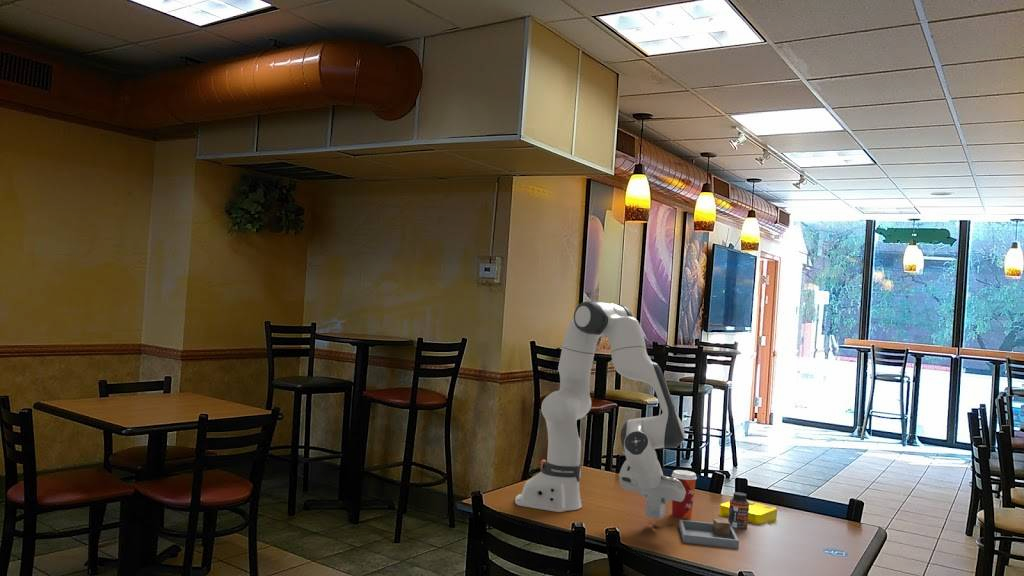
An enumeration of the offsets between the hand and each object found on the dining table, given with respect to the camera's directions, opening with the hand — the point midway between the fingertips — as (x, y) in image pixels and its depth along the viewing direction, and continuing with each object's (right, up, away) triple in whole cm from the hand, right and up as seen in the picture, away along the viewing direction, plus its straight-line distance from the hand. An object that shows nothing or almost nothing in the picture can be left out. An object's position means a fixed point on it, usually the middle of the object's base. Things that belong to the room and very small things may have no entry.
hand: (657, 500), depth 232 cm
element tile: (+34, -12, +18) cm, 40 cm away
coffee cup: (+10, -9, +12) cm, 18 cm away
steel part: (-1, -5, -1) cm, 5 cm away
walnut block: (+18, -9, -6) cm, 21 cm away
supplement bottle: (+26, -10, +3) cm, 28 cm away
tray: (+13, -9, -10) cm, 19 cm away
